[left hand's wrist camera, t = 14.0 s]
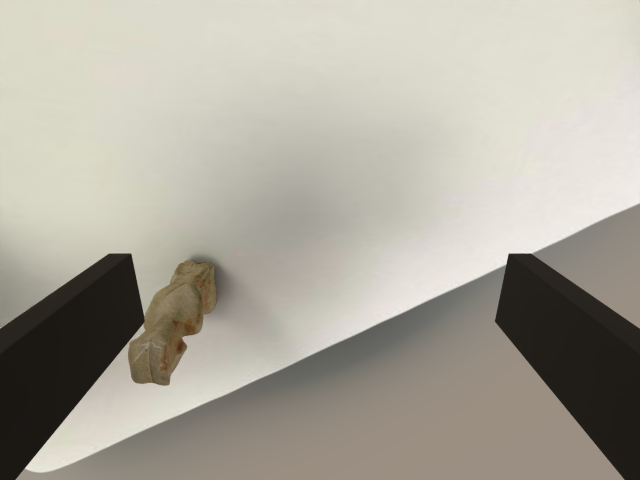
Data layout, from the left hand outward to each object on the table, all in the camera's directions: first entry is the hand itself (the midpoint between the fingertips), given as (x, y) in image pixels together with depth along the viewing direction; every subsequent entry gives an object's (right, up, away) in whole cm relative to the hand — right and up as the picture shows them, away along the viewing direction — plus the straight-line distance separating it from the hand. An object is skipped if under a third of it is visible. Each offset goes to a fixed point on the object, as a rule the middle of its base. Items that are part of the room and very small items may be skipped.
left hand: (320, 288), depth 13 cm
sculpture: (-15, -3, +32) cm, 36 cm away
